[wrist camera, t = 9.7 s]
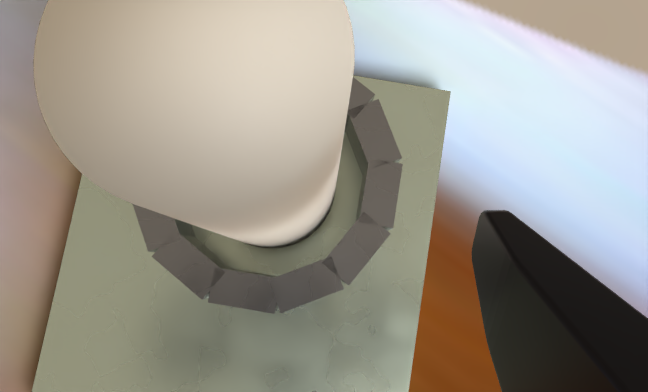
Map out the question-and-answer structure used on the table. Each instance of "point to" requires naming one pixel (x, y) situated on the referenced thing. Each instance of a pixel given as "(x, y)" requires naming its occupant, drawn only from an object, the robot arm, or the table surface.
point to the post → (203, 107)
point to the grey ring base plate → (259, 278)
